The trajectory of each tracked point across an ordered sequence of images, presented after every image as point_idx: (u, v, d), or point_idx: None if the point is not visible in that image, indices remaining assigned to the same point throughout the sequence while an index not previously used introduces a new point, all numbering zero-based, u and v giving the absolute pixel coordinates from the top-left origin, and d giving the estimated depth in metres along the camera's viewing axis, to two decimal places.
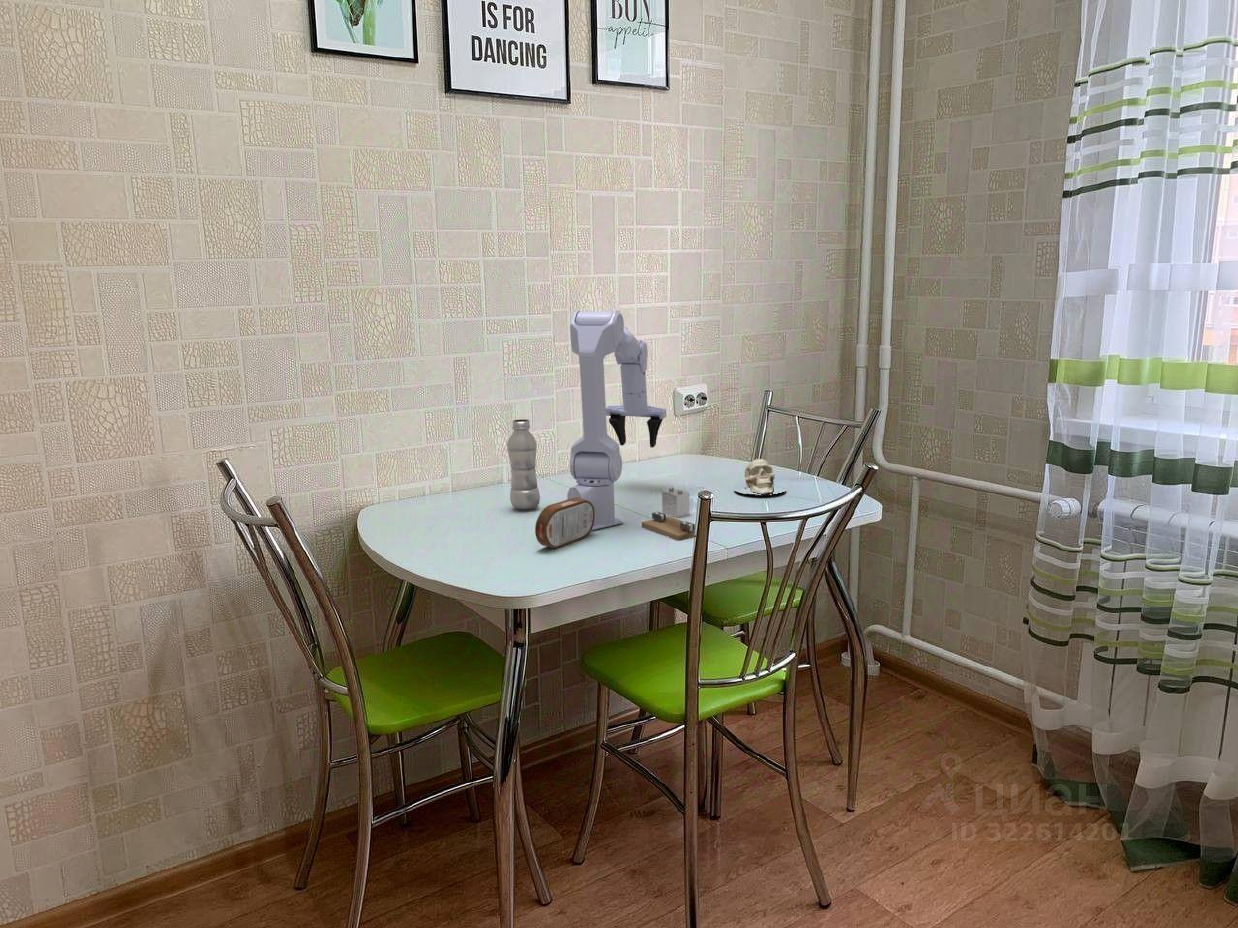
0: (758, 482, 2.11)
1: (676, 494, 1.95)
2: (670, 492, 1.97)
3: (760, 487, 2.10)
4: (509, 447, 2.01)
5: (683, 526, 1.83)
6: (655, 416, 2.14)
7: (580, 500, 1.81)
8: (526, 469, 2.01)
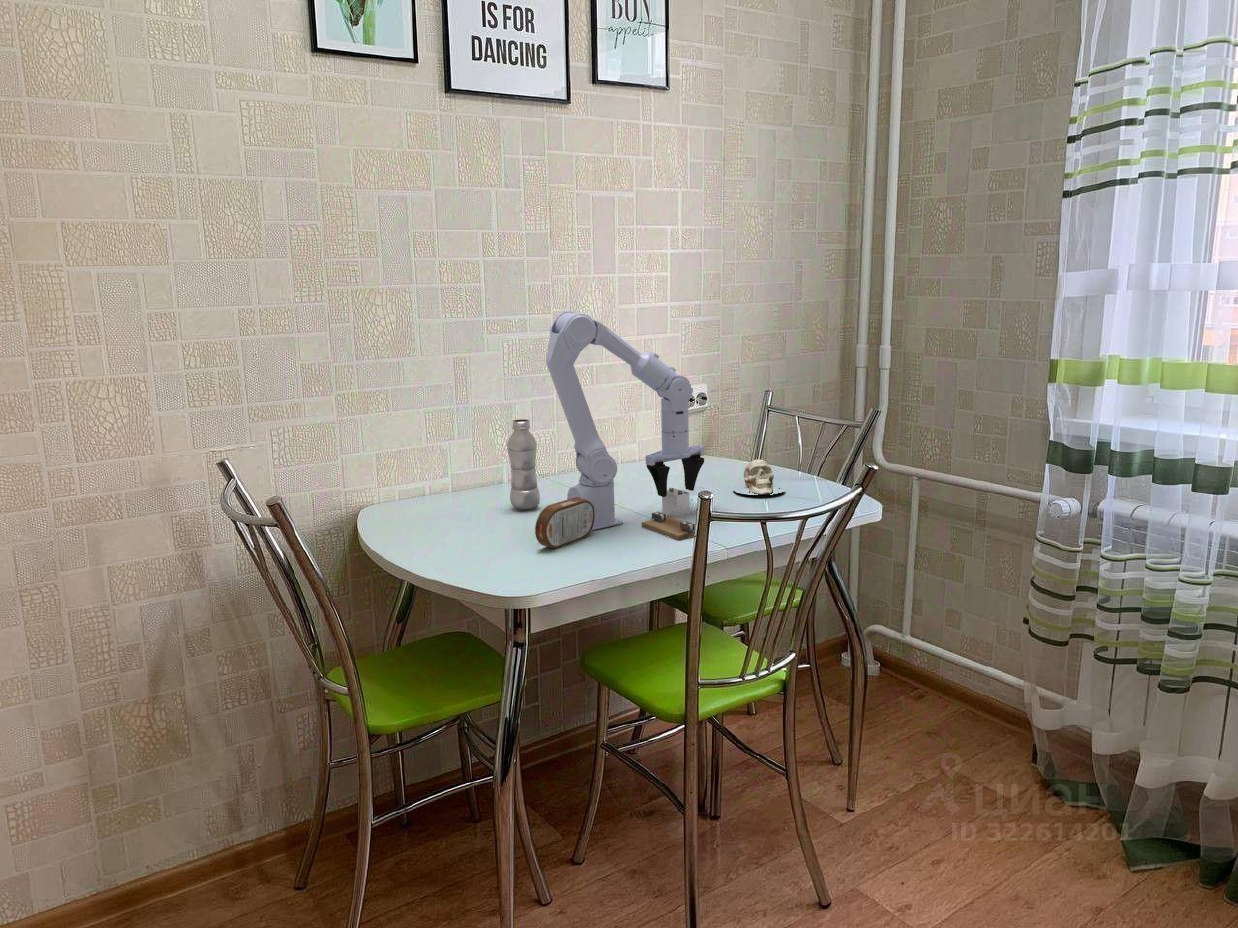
0: (758, 483, 2.10)
1: (676, 494, 1.95)
2: (670, 492, 1.97)
3: (760, 488, 2.10)
4: (509, 447, 2.01)
5: (683, 526, 1.83)
6: (655, 461, 1.93)
7: (580, 500, 1.81)
8: (526, 469, 2.01)
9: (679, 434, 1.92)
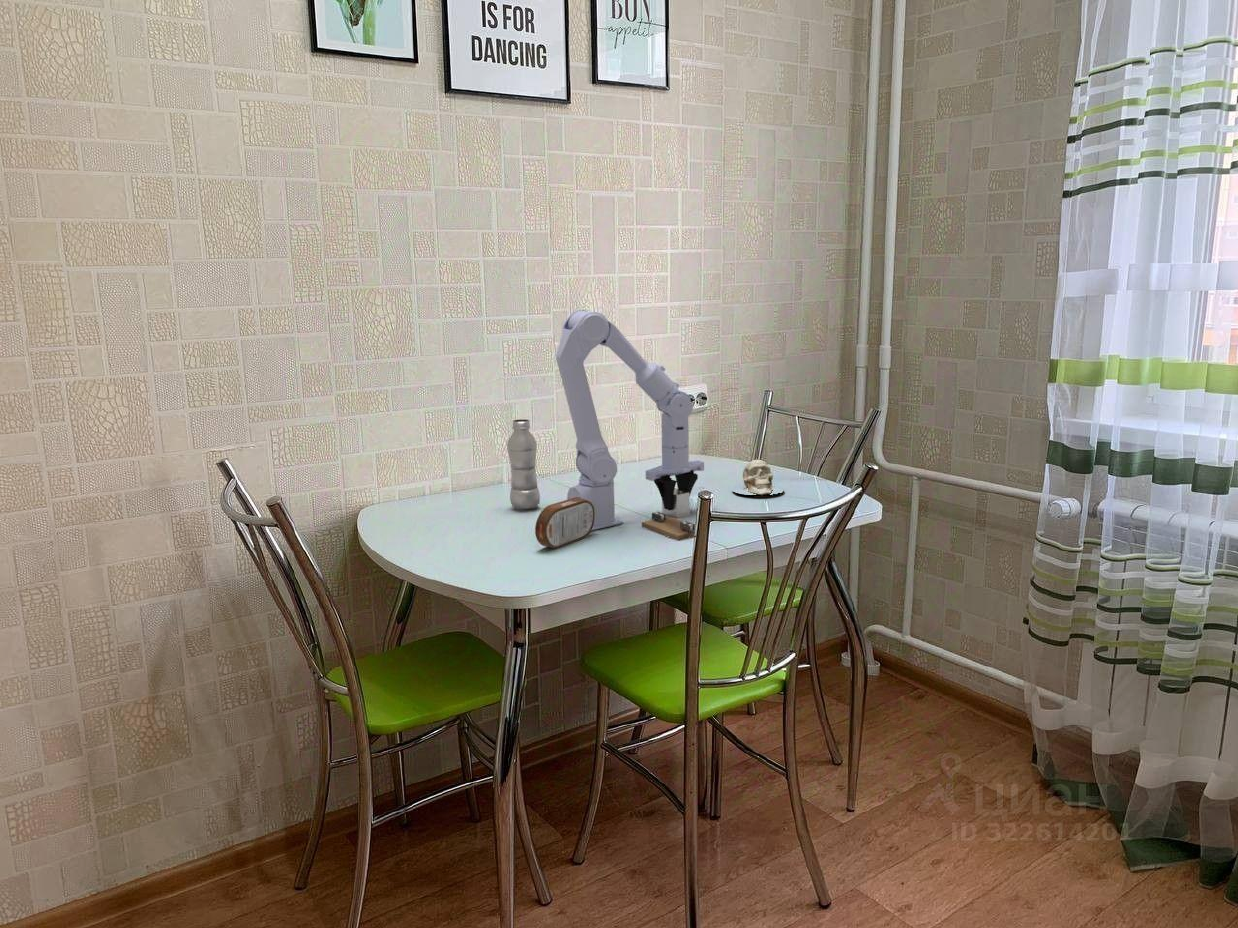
0: (757, 483, 2.10)
1: (676, 494, 1.95)
2: None
3: (759, 488, 2.10)
4: (509, 447, 2.01)
5: (683, 526, 1.83)
6: None
7: (580, 500, 1.81)
8: (526, 469, 2.01)
9: (679, 449, 1.93)
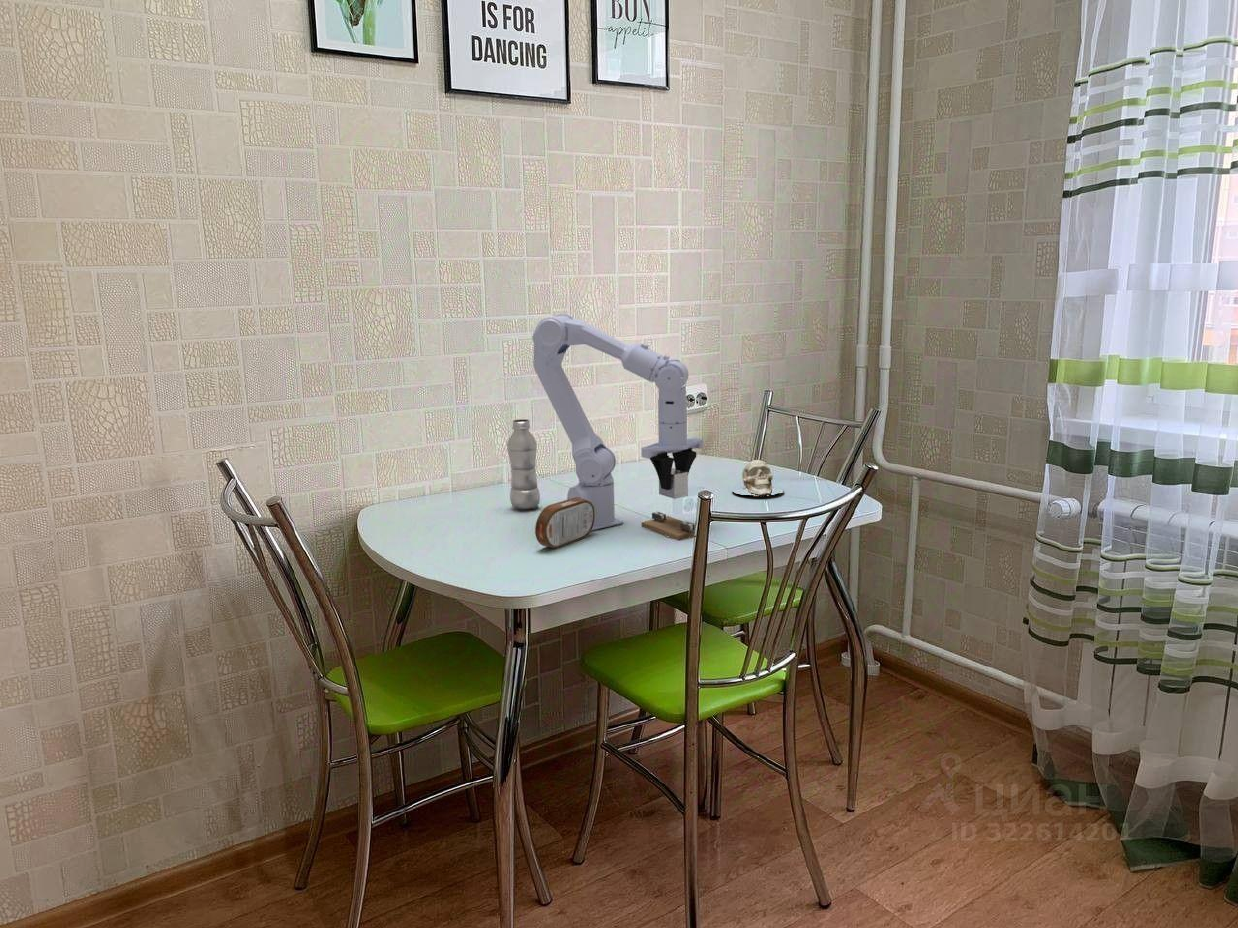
0: (757, 483, 2.10)
1: (674, 473, 1.84)
2: None
3: (759, 488, 2.10)
4: (509, 447, 2.01)
5: (683, 526, 1.83)
6: None
7: (580, 500, 1.81)
8: (526, 469, 2.01)
9: (677, 425, 1.82)
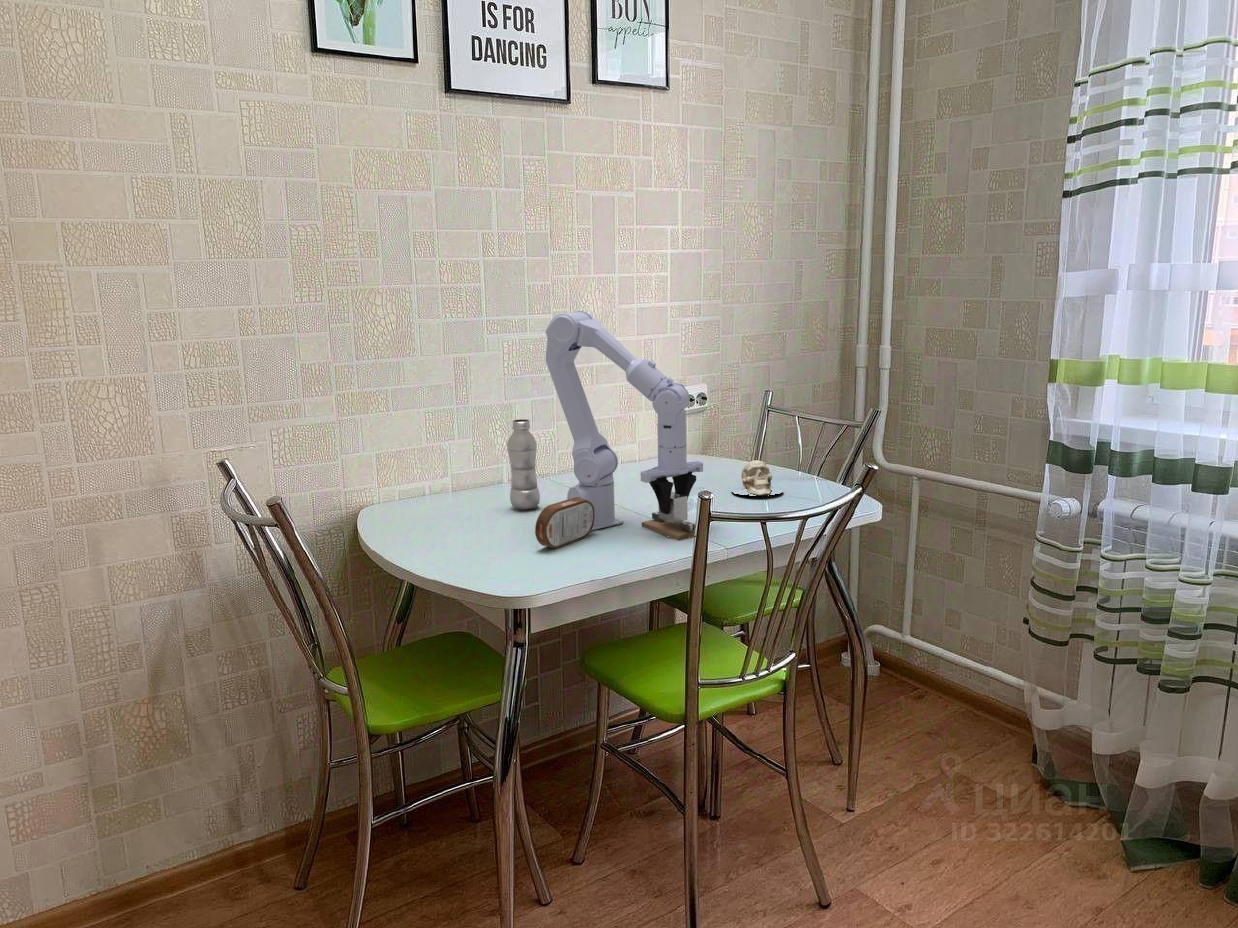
0: (756, 484, 2.10)
1: (673, 497, 1.83)
2: None
3: (758, 489, 2.09)
4: (509, 447, 2.01)
5: (683, 526, 1.83)
6: None
7: (580, 500, 1.81)
8: (526, 469, 2.01)
9: (676, 449, 1.80)
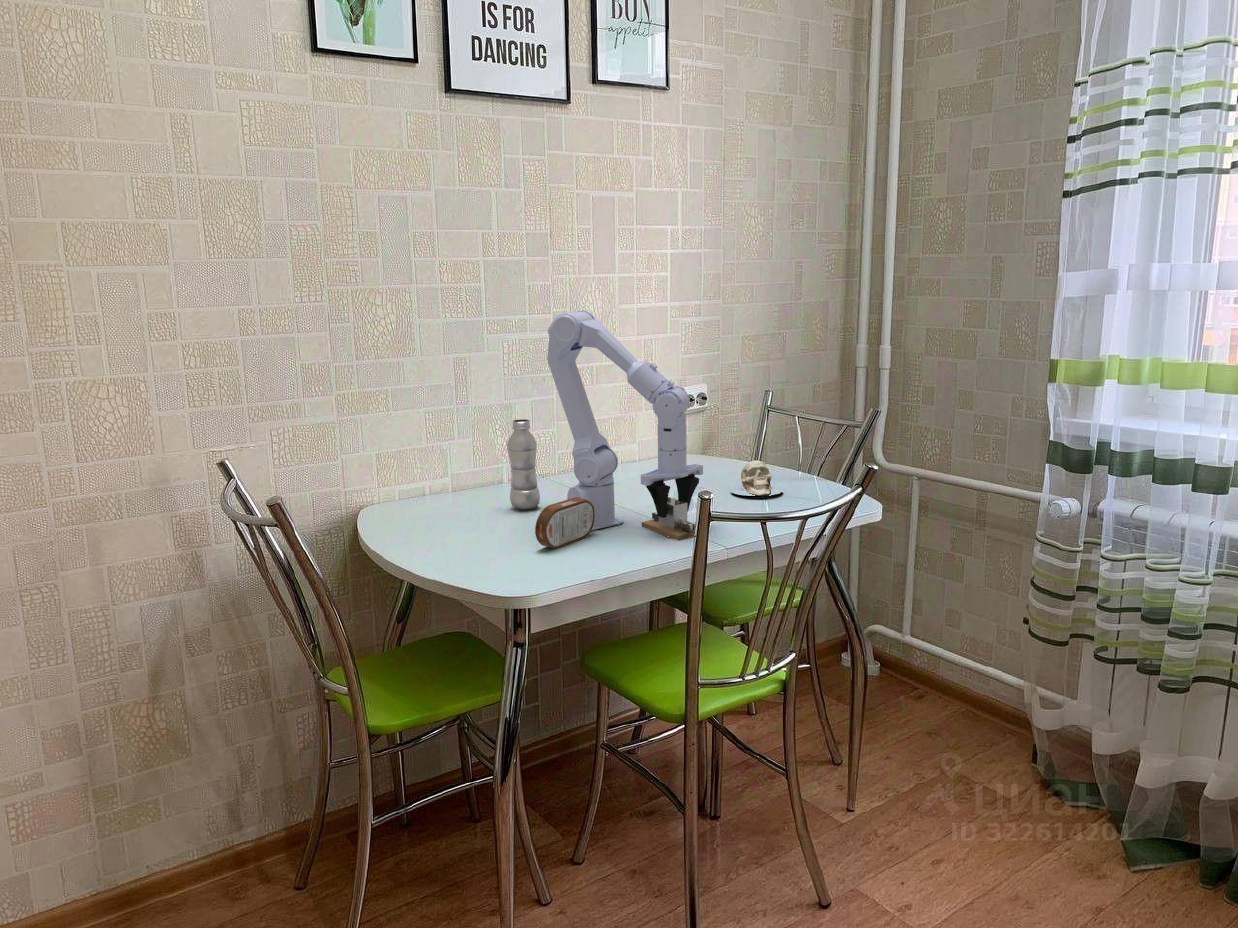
0: (756, 484, 2.09)
1: (673, 504, 1.83)
2: (667, 502, 1.85)
3: (758, 489, 2.09)
4: (509, 447, 2.01)
5: (683, 526, 1.83)
6: None
7: (580, 500, 1.81)
8: (526, 469, 2.01)
9: (676, 452, 1.80)
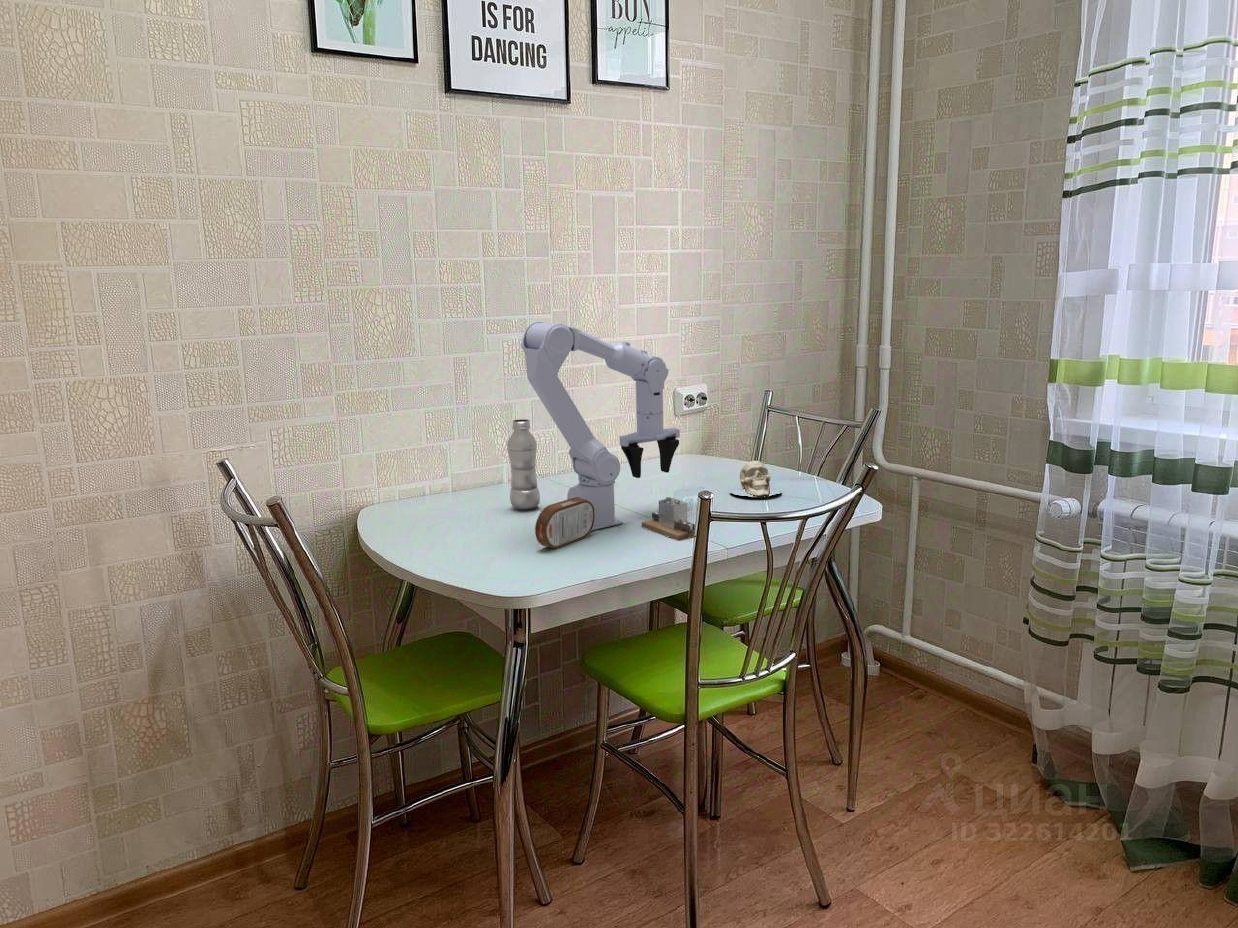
0: (755, 484, 2.09)
1: (673, 504, 1.83)
2: (667, 502, 1.85)
3: (757, 489, 2.09)
4: (509, 447, 2.01)
5: (683, 526, 1.83)
6: None
7: (580, 500, 1.81)
8: (526, 469, 2.01)
9: (653, 415, 1.93)
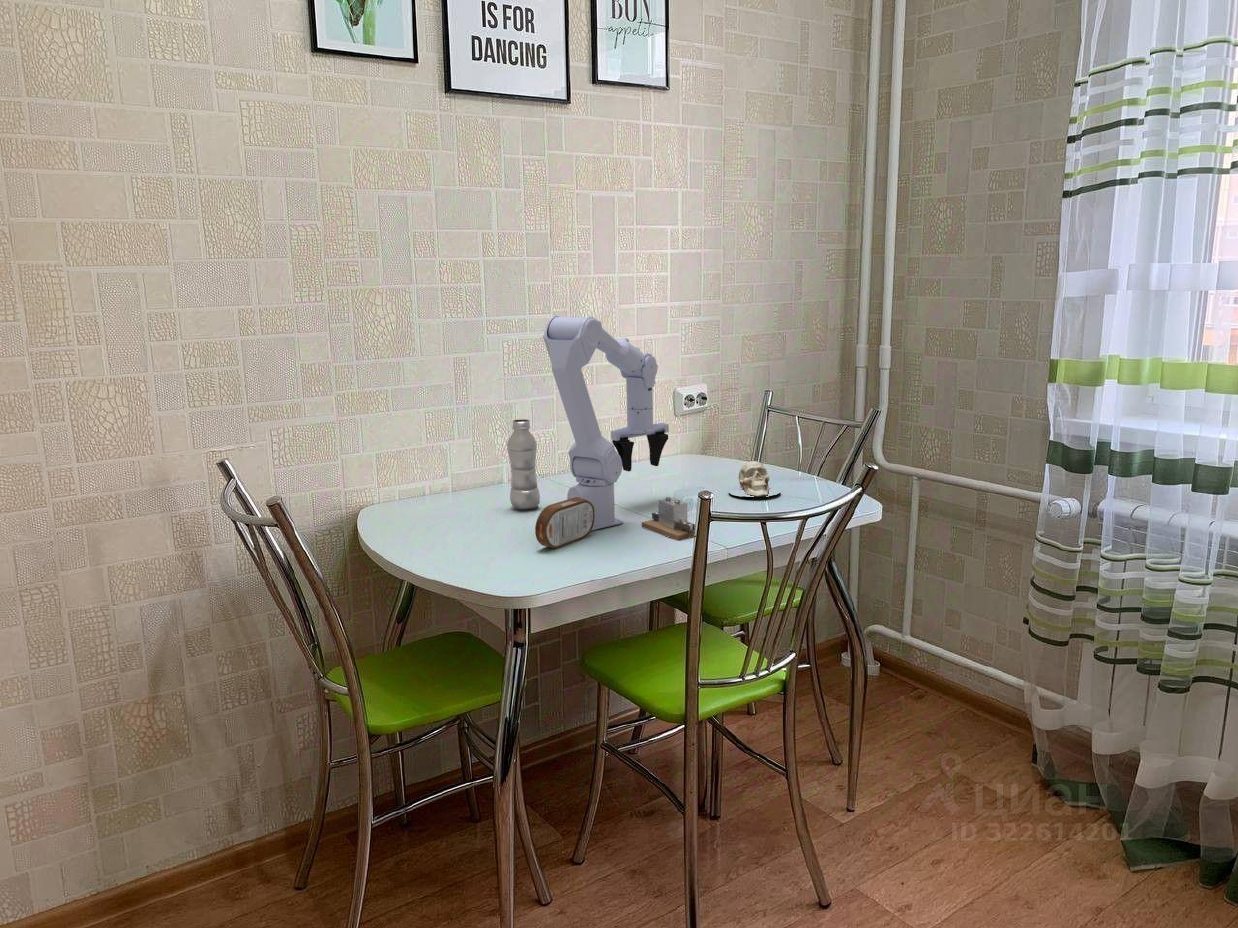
0: (754, 485, 2.09)
1: (673, 504, 1.83)
2: (667, 502, 1.85)
3: (756, 490, 2.08)
4: (509, 447, 2.01)
5: (683, 526, 1.83)
6: None
7: (580, 500, 1.81)
8: (526, 469, 2.01)
9: (643, 411, 1.99)
